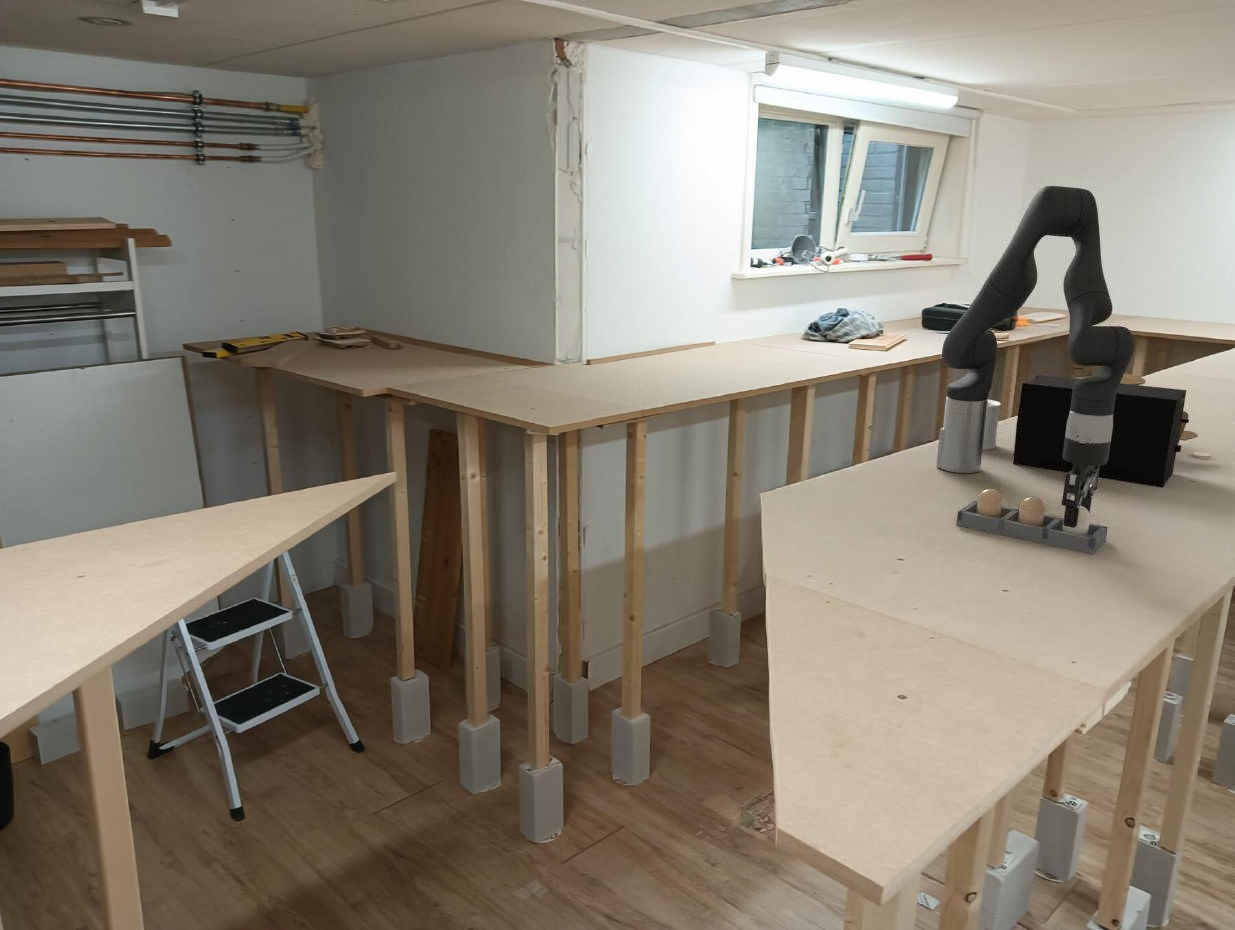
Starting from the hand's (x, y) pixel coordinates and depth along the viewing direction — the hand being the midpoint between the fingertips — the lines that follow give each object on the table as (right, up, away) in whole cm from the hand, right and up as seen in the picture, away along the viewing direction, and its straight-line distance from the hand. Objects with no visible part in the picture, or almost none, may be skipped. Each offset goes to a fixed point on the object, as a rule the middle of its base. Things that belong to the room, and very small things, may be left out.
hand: (1076, 520), depth 176 cm
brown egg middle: (-6, -2, +6) cm, 9 cm away
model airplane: (+44, +14, +67) cm, 82 cm away
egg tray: (-6, -3, +6) cm, 9 cm away
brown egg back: (-12, 0, +11) cm, 16 cm away
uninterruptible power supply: (+28, +9, +49) cm, 57 cm away
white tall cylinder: (+8, +15, +71) cm, 73 cm away
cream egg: (0, -3, +1) cm, 3 cm away
